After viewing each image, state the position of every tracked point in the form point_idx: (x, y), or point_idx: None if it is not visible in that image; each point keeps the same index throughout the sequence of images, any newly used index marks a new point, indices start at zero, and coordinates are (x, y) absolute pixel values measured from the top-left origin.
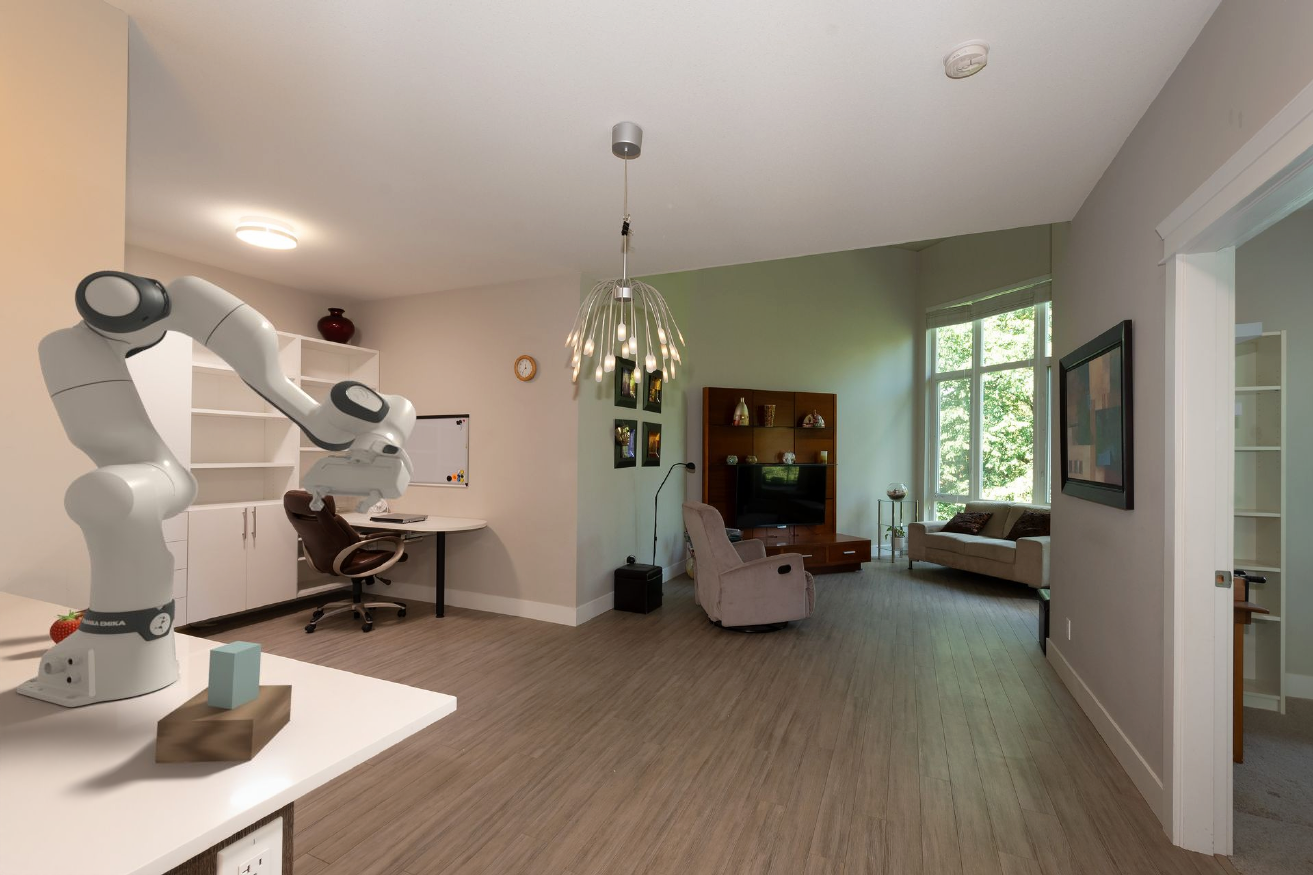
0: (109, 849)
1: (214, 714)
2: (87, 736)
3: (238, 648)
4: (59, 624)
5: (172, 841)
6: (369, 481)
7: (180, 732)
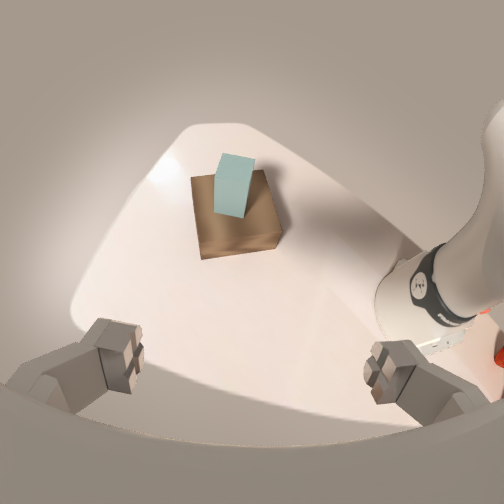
0: (210, 130)
1: None
2: (342, 220)
3: (229, 164)
4: None
5: (185, 135)
6: (29, 447)
7: None
